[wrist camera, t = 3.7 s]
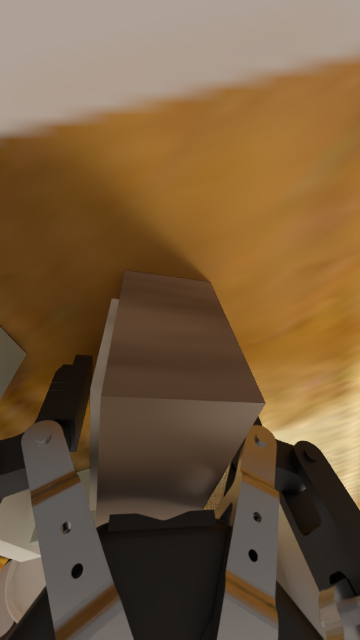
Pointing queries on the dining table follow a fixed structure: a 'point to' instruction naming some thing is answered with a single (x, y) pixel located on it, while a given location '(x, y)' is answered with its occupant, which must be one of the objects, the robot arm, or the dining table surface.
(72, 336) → the dining table surface
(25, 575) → the spread jar
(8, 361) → the ledge
